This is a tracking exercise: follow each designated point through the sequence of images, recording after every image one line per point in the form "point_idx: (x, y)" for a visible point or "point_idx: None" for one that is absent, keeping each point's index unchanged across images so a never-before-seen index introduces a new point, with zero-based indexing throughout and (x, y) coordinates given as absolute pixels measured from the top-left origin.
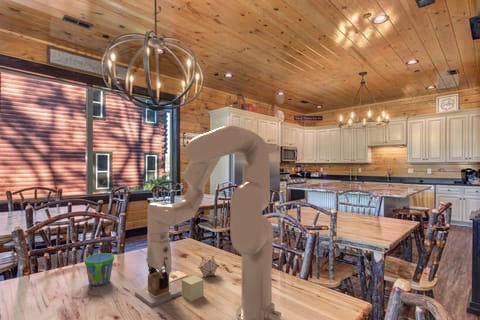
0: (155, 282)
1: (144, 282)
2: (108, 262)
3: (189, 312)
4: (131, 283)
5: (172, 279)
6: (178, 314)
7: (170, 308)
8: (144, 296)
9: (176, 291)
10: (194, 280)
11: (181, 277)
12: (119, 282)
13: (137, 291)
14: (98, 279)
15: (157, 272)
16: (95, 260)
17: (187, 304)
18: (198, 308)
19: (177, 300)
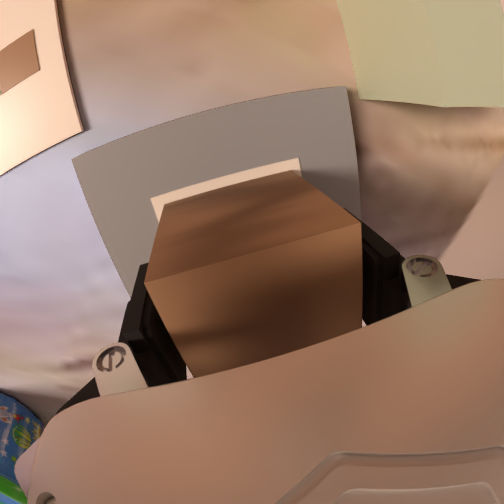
0: None
1: (18, 276)
2: (14, 487)
3: (486, 158)
4: (21, 335)
5: (46, 77)
6: (471, 202)
7: (424, 215)
8: None
9: (331, 122)
10: (491, 42)
11: (54, 5)
12: (9, 369)
13: None
14: None
15: (198, 335)
16: (6, 496)
17: (446, 126)
18: (487, 110)
19: (387, 148)
